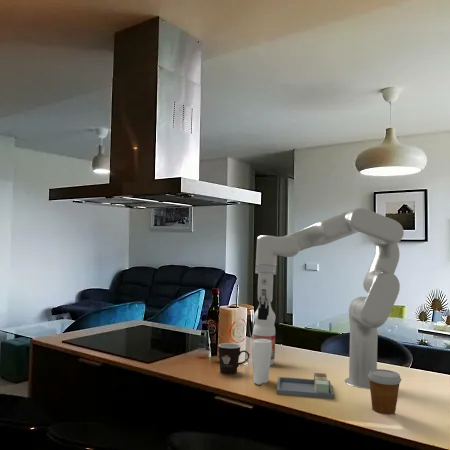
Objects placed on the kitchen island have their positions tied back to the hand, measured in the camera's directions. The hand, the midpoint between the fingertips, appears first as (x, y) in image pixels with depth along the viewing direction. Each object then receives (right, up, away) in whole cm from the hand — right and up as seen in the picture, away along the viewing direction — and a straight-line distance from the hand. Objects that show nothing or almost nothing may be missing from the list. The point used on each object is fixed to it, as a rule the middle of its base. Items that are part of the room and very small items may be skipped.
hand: (263, 317), depth 160 cm
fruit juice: (+2, -25, +26) cm, 36 cm away
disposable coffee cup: (+34, -23, -27) cm, 49 cm away
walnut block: (+19, -23, -6) cm, 30 cm away
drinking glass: (-1, -23, -1) cm, 23 cm away
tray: (+13, -23, -9) cm, 28 cm away
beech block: (+18, -22, -10) cm, 31 cm away
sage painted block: (+18, -22, -15) cm, 32 cm away
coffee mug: (-11, -24, +10) cm, 28 cm away
